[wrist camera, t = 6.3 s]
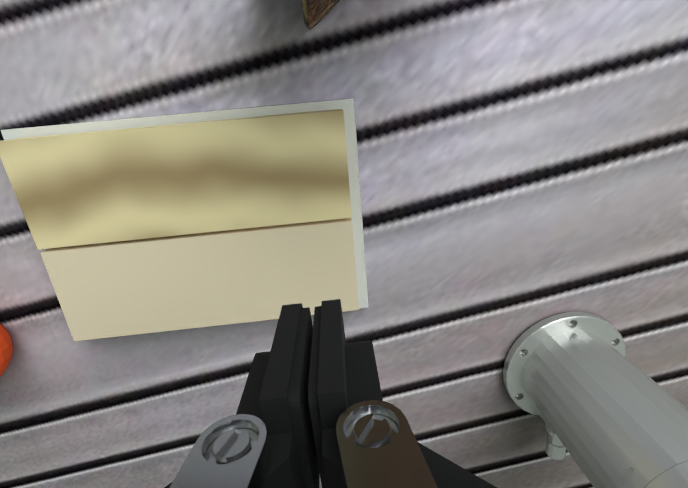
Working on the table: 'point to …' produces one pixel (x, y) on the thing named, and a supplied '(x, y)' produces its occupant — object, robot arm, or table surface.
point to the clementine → (5, 349)
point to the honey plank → (180, 178)
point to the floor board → (209, 257)
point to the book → (316, 10)
